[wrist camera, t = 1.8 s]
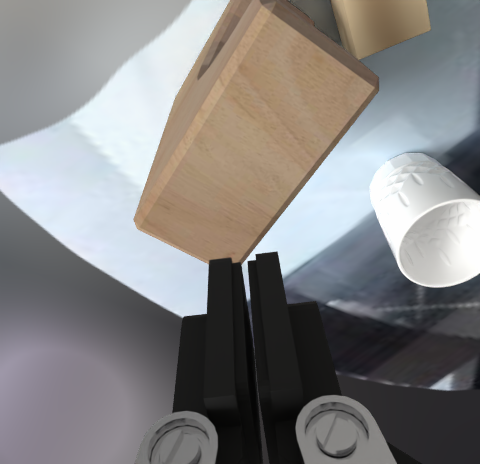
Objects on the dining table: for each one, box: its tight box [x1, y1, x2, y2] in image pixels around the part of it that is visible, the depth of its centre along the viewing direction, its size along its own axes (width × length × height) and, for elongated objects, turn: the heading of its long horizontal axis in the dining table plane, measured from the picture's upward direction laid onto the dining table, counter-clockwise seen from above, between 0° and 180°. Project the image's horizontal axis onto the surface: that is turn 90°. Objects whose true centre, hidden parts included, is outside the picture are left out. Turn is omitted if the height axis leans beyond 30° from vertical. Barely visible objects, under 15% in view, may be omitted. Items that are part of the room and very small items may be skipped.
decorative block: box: [134, 0, 379, 265], centre depth 27 cm, size 11×6×20 cm, turn 146°
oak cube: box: [330, 0, 431, 60], centre depth 31 cm, size 5×5×5 cm
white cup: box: [370, 153, 480, 287], centre depth 38 cm, size 8×8×10 cm
